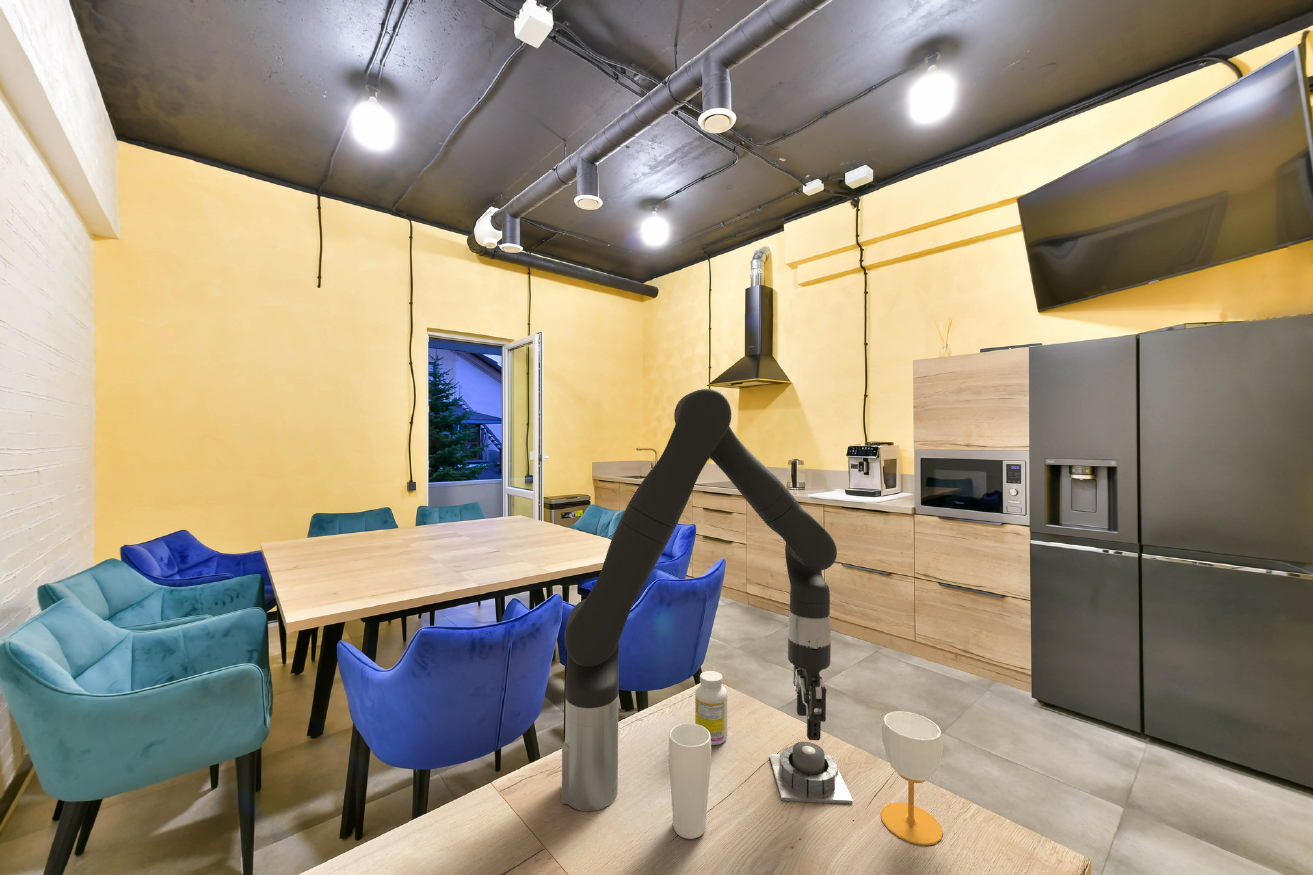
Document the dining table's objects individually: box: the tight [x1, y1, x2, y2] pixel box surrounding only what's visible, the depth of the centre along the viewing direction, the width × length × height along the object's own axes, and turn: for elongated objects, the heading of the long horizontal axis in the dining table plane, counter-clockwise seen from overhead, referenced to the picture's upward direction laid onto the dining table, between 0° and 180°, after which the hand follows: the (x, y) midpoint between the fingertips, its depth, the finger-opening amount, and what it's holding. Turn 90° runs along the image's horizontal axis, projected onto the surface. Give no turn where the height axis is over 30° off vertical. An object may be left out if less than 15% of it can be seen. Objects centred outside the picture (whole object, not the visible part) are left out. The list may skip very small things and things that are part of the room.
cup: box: [879, 710, 944, 846], centre depth 82 cm, size 9×9×16 cm
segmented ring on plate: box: [768, 745, 853, 805], centre depth 93 cm, size 12×12×3 cm
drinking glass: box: [668, 722, 712, 840], centre depth 81 cm, size 7×7×15 cm
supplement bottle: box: [694, 670, 728, 746], centre depth 106 cm, size 7×7×13 cm
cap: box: [792, 741, 825, 775], centre depth 93 cm, size 6×6×5 cm
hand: (808, 726), depth 93 cm, fingers open, 7 cm apart
